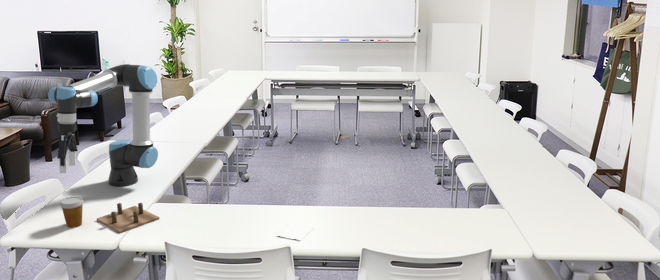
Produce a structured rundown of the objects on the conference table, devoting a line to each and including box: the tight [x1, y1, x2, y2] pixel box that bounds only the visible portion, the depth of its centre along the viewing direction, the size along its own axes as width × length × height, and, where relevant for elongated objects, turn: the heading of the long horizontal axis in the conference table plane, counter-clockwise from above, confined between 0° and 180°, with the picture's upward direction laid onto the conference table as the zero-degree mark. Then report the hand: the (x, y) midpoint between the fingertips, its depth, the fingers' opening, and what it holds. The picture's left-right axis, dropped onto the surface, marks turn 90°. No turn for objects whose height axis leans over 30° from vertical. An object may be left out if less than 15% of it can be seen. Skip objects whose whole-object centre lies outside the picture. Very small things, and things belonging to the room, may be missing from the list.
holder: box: [96, 202, 160, 234], centre depth 254 cm, size 20×20×6 cm
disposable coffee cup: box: [59, 196, 84, 229], centre depth 247 cm, size 10×10×12 cm
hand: (67, 169), depth 245 cm, fingers open, 13 cm apart
